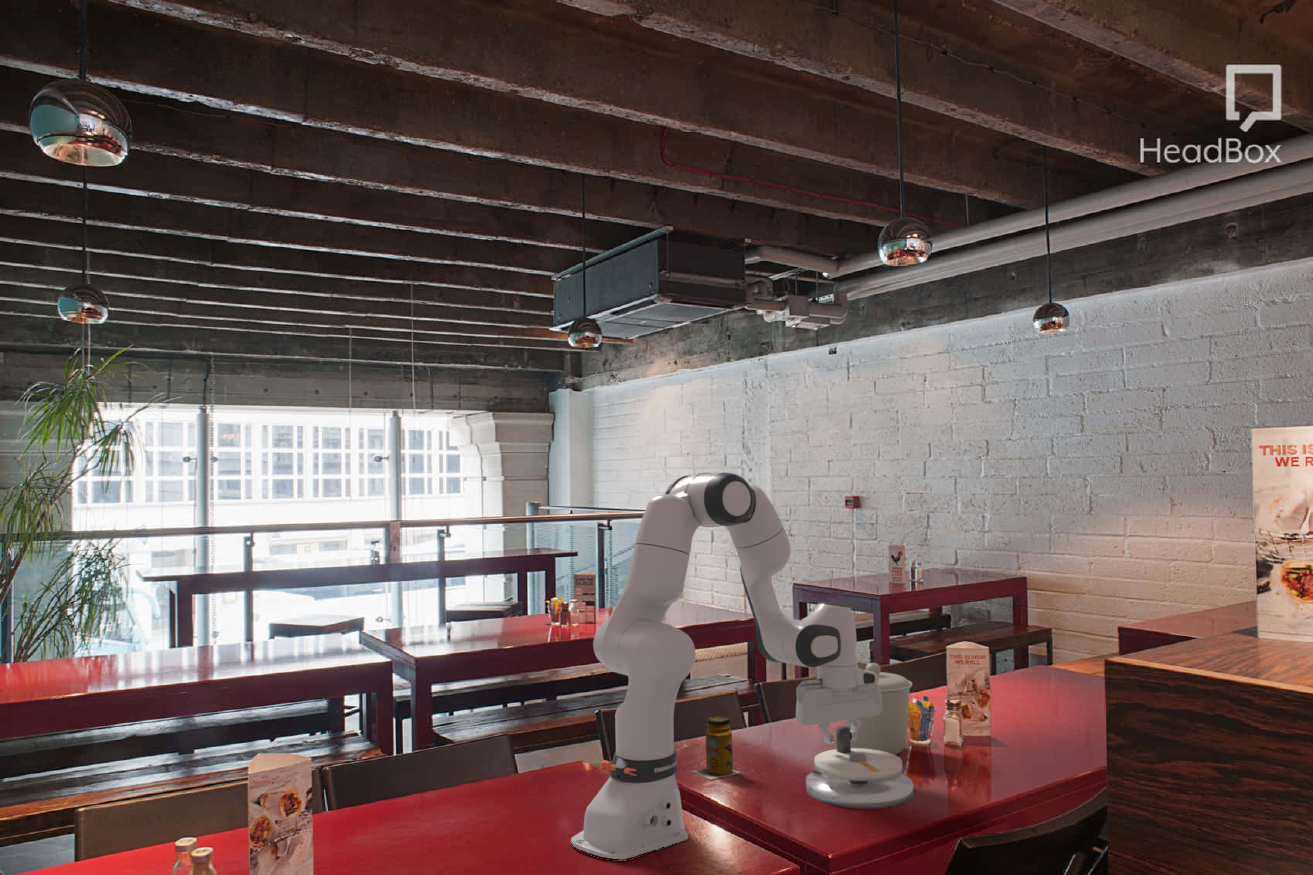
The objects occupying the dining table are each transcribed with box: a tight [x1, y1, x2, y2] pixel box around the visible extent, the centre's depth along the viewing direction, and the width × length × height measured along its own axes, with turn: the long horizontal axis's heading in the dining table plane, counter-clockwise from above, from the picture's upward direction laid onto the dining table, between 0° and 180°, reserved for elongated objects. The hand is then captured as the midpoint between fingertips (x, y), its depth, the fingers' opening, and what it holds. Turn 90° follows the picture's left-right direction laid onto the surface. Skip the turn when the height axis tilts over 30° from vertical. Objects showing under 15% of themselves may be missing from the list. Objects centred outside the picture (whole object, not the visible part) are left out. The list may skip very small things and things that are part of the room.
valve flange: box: [805, 769, 915, 810], centre depth 184 cm, size 22×22×4 cm
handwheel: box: [814, 725, 903, 781], centre depth 185 cm, size 18×18×6 cm
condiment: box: [691, 715, 741, 780], centre depth 200 cm, size 7×8×12 cm
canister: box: [843, 662, 913, 756], centre depth 214 cm, size 18×18×21 cm
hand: (840, 740), depth 191 cm, fingers open, 4 cm apart
